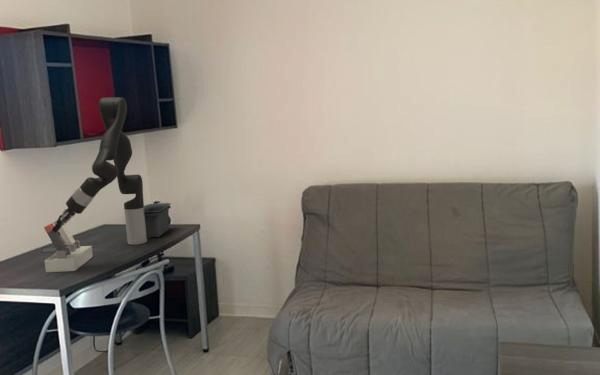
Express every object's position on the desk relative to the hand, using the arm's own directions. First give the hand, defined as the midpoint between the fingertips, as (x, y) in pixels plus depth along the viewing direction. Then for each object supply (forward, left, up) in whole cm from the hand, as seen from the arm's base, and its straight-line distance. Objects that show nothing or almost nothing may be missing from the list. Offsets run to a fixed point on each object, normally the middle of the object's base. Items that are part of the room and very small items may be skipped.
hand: (54, 230), depth 251 cm
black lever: (0, +3, -10) cm, 10 cm away
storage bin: (-57, +27, -17) cm, 65 cm away
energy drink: (-21, -6, -17) cm, 27 cm away
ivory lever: (-11, +3, -10) cm, 15 cm away
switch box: (-6, +3, -16) cm, 18 cm away
